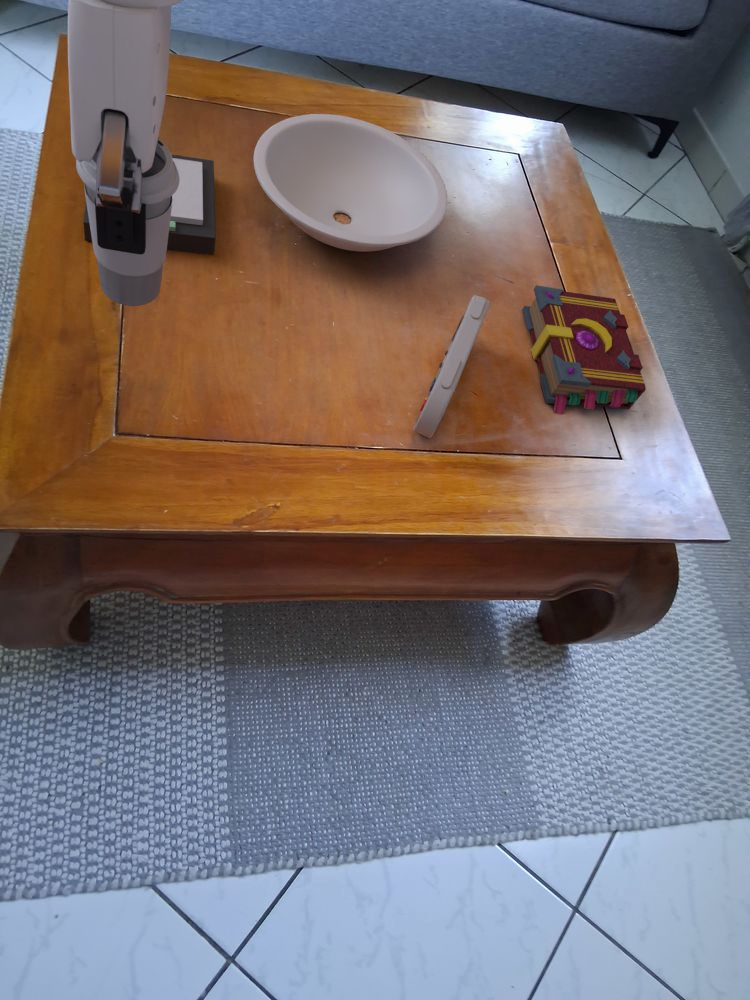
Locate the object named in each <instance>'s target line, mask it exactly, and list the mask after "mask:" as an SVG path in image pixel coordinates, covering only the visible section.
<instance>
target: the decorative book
mask: <svg viewBox="0 0 750 1000" xmlns="http://www.w3.org/2000/svg"><path fill="white" fill-rule="evenodd" d="M533 293H534V295H535V298H534V300H533V301H532V303H531V305H524V306H523V308H522V313H523V317H524V322H525V325H526V329H527V332H528V333H530V338H531V343H532V345H533V346H532V348H531V349H530V352H531V355H532V359H533V361H537V366H538V369H539V374H540V376H539V380H540V384H541V388H542V393H543V396H544V397H543V398H544V401H545V403H546V404H553V405H554V406H553V414H560V415H565V409H566V406H579V405H583V409H587V410H595V407H603V408H613V409H623V410H630V409H631V408H632V407H633V405H634V404H635V403H636V402H637V401H638V399H639V398H640V397H641V396H642V395H643V393H645V391H646V390H647V388H646V385H645V382H644V378H643V376H642V373H641V372H642V370H643V364H642V362H641V358H640V355H639V354H635V353H634V350H633V347H632V346H633V345H631V340H630V338H629V334H628V332H627V330H628V328H629V324H628V321H627V318H626V315H625V314H622V313H621V311H620V309H619V305H618V303H617V299H616V298H612V297H607V296H606V297H605V296H600V295H593V294H585V293H578V292H572V291H565V289H563V288H556V287H551V286H546V285H545V286H544V285H535V287H534V288H533Z"/></svg>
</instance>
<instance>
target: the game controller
mask: <svg viewBox="0 0 750 1000" xmlns="http://www.w3.org/2000/svg"><path fill="white" fill-rule="evenodd" d="M490 303H491V302H490V301H489V300H488V299H486V298H485V297H483V296H480V295H476V294H474V295H472V297H471V299H470V301H469V303H468V305H467V307H466V308H465V311H464V313H463V315H462V316H461V318H460V320H459V322H458V325H457V327H456V329H455V331H454V334H453V336H452V338H451V342H450V344H449V346H448V349H447V350H445V352H444V358H443V360H442V362H440V363H439V366H438V367H439V369H438V372H437V374H436V376H435V377H434V378H433V380H432V382H431V385H430V387H429V390H428V395H427V396H426V397H425V398H424V400H423V402H422V404H421V406H420V409H419V415H418V417H417V419H416V421H415V424H414V425H413V431H414V433H417V434H419V435H422V436H424V437H426V438H429V439H430V438H433V435H434V434H435V432H436V430H437V428H438V427H439V425H440V422H441V421H442V418H443V416H444V414H445V412H446V410H447V408H448V406H449V404H450V401H451V400H452V397H453V395H454V392H455V391H456V388H457V386H458V383H459V381H460V379H461V377H462V373H463V372H464V369H465V367H466V364H467V362H468V359H469V357H470V354H471V352H472V350H473V348H474V345H475V342H476V339H477V338H478V335H479V333H480V330H481V327H482V325H483V324H484V323H483V322H484V320H485V317H486V315H487V313H488V310H489V308H490V305H491V304H490Z"/></svg>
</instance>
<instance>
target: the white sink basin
mask: <svg viewBox="0 0 750 1000" xmlns="http://www.w3.org/2000/svg"><path fill="white" fill-rule="evenodd" d="M252 161H253V169H254V171H255V172H254V173H255V176H256V178H257V181H258V183H259V185H260V186H261V189H262V191H264V193H265V194H266V196H267V197H268V198H269V199H270V201H271V202H272V203H273V204H275V206H276V207H277V208H278V209H280V211H282V213H283V214H284V215H285V216H286V217H287V218H288V220H289V221H290V222H291V223H293V225H295V226H296V228H298V229H299V230H301V231H302V232H303V233H305V234H306V235H307V236H310V237H311V238H313V239H314V240H317V241H319V242H320V243H323V244H325V245H327V246H330V247H333V248H338V249H340V250H344V251H350V252H366V253H367V252H377V251H378V252H379V251H384V250H388V249H391V248H395V247H397V246H404V245H407V244H411V243H414V242H417V241H419V240H421V239H423V238H426V237H427V236H429V235H430V234H431V233H432V232H434V231H435V230H436V229H437V228H438V227H439V225H440V224H441V223H442V221H443V219H444V218H445V216H446V213H447V209H448V191H447V188H446V183H445V181H444V179H443V177H442V175H441V174H440V171H438V169H437V168H436V166H435V165H434V163H432V162H431V160H430V159H429V158H428V157H427V156H426V155H425V154H424V153H423V152H421V150H419V148H417V147H416V146H415V145H414V144H412V143H411V142H409V141H407V140H406V139H404V138H403V137H401V136H399V135H398V134H396V133H394V132H392V131H391V130H388V129H386V128H384V127H382V126H380V125H377V124H374V123H371V122H368V121H366V120H362V119H359V118H356V117H355V118H354V117H351V116H346V115H341V114H330V113H310V114H302V115H296V116H291V117H289V118H286V119H283V120H281V121H278V122H277V123H274V124H273V125H271V126H270V127H269V128H267V129H266V130H265V131H264V132H263V133H262V134H261V135H260V137H259V138H258V140H257V143H256V145H255V148H254V152H253V160H252ZM339 213H340V214H344V215H347V216H348V217H349V218H350V222H349V223H341V222H339V221H337V220H336V219H335V217H334V215H335V214H339Z"/></svg>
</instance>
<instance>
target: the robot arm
mask: <svg viewBox="0 0 750 1000" xmlns="http://www.w3.org/2000/svg"><path fill="white" fill-rule="evenodd" d="M183 1H184V0H68V1H67V68H68V96H69V117H70V144H71V145H70V146H71V153H72V155H73V157H74V158H75V160H76V159H77V160H78V161H81V162H82V161H86V162H91V160H92V158H93V156H94V154H95V152H96V150H97V158H96V161H97V166H96V196H95V212H96V228H97V243H98V246H99V247H101V248H103V249H109V250H115V251H121V252H127V253H133V254H139V255H142V254H144V253H145V249H146V204H144V203H141V201H142V182H143V173H144V172H146V171H148V170H149V169H150V168H151V167H152V165H153V160H154V156H155V151H156V146H157V141H158V139H159V140H160V131H161V128H162V127H161V126H162V121H163V117H164V116H163V115H164V110H165V104H166V97H167V90H168V79H169V70H170V57H171V56H170V54H171V35H172V34H171V32H172V30H171V28H172V6H175V5H177V4H180V3H182V2H183ZM126 148H127V149H132V151H133V153H134V155H135V157H136V159H130V158H125V154H126ZM124 170H127V171H132V172H133V180H132V192H131V190H130V189H129V188H127V187H124Z"/></svg>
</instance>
